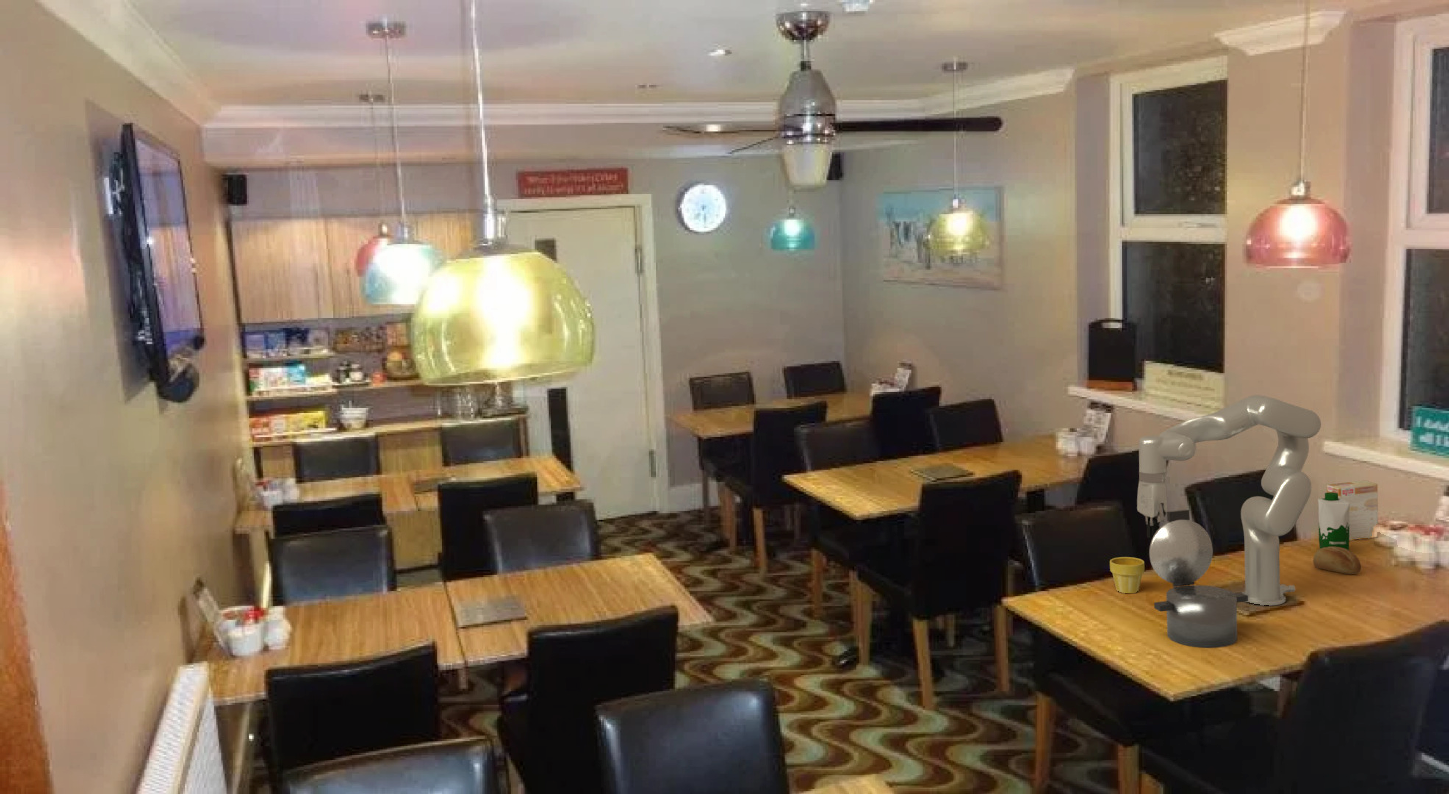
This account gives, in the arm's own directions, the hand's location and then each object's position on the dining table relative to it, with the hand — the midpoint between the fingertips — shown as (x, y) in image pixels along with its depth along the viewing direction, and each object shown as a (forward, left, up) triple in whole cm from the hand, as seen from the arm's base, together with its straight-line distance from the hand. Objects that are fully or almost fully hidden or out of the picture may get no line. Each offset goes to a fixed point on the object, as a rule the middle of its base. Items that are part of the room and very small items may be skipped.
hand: (1153, 537), depth 338 cm
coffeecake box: (-101, -49, -23) cm, 114 cm away
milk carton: (-83, -35, -23) cm, 93 cm away
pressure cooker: (0, +25, -22) cm, 34 cm away
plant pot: (-1, -20, -23) cm, 30 cm away
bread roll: (-71, -16, -23) cm, 76 cm away
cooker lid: (0, +15, +1) cm, 15 cm away
